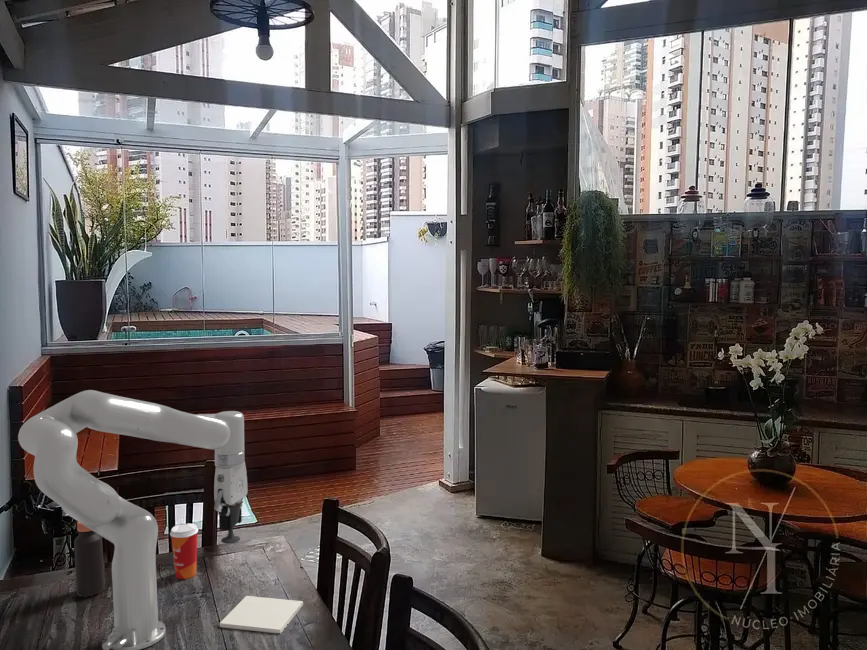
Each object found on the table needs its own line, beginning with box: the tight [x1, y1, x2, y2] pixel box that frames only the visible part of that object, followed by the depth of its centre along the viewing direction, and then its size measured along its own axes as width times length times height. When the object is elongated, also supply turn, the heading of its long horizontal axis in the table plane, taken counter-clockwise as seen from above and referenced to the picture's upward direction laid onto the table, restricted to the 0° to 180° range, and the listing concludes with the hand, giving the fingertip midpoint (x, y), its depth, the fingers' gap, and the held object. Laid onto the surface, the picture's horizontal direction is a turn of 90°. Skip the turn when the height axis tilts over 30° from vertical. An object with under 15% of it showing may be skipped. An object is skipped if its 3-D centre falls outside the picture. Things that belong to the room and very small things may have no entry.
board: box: [219, 595, 304, 634], centre depth 168 cm, size 14×16×1 cm
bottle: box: [73, 521, 105, 597], centre depth 181 cm, size 7×7×20 cm
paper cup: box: [169, 523, 199, 580], centre depth 191 cm, size 8×8×14 cm
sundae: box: [220, 500, 244, 544], centre depth 176 cm, size 7×7×15 cm
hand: (230, 525), depth 177 cm, fingers closed on sundae, 4 cm apart
